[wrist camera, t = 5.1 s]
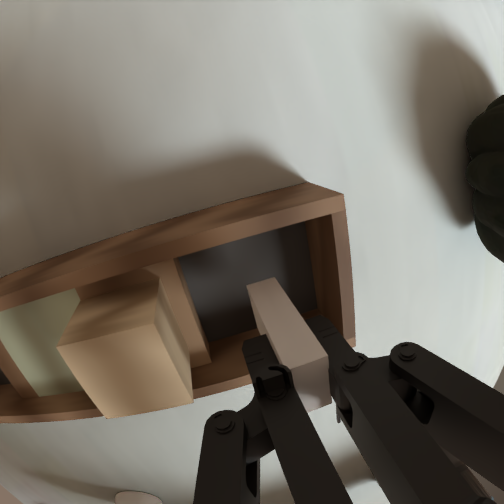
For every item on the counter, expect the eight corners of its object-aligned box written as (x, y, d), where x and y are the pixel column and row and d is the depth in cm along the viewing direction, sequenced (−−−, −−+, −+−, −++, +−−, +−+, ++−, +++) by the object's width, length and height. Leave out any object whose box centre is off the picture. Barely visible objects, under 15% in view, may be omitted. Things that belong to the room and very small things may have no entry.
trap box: (308, 182, 18) (343, 194, 14) (326, 311, 22) (355, 346, 18) (-70, 308, 14) (-95, 333, 10) (-19, 391, 18) (-35, 422, 14)
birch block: (159, 277, 16) (153, 323, 12) (188, 349, 18) (193, 402, 13) (80, 300, 15) (55, 347, 11) (116, 366, 17) (106, 418, 13)
